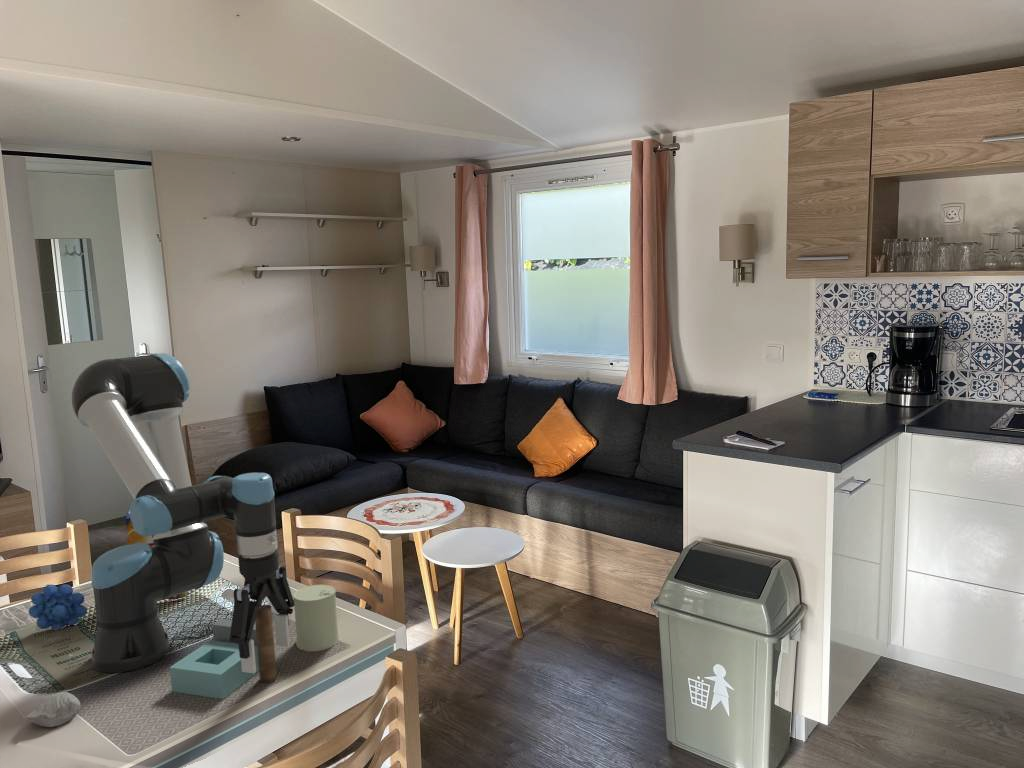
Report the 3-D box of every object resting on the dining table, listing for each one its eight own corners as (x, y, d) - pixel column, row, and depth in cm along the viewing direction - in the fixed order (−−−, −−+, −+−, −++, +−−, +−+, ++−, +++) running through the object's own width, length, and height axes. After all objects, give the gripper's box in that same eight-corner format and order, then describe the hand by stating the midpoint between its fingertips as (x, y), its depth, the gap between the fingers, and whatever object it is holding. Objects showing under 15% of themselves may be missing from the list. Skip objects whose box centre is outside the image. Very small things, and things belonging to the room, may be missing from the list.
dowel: (256, 682, 156) (250, 610, 154) (266, 674, 159) (260, 604, 157) (270, 684, 155) (264, 612, 153) (279, 676, 158) (274, 605, 156)
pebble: (54, 735, 139) (51, 709, 139) (18, 730, 142) (15, 704, 141) (91, 710, 148) (89, 685, 147) (56, 705, 150) (54, 681, 149)
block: (171, 691, 153) (169, 667, 153) (212, 662, 165) (210, 640, 164) (223, 699, 150) (221, 674, 149) (260, 669, 161) (259, 646, 160)
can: (328, 653, 167) (324, 599, 166) (288, 650, 169) (284, 597, 167) (345, 634, 176) (342, 583, 175) (308, 631, 178) (304, 581, 176)
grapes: (33, 646, 176) (27, 595, 174) (30, 635, 181) (24, 586, 179) (91, 631, 182) (86, 582, 181) (87, 621, 188) (81, 574, 186)
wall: (215, 660, 166) (212, 624, 165) (224, 653, 168) (221, 618, 167) (263, 666, 162) (260, 630, 161) (272, 660, 165) (269, 624, 164)
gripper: (237, 575, 141) (246, 689, 144) (307, 534, 163) (314, 634, 166) (202, 571, 144) (212, 684, 146) (276, 532, 166) (283, 631, 168)
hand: (266, 658), depth 156 cm, fingers open, 11 cm apart
